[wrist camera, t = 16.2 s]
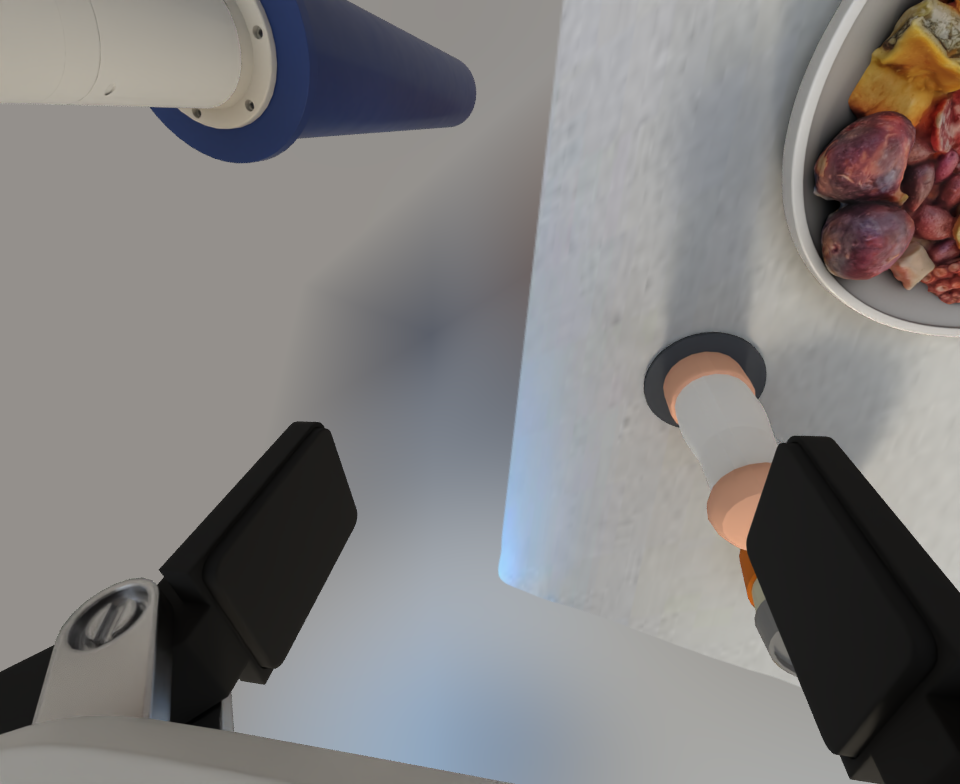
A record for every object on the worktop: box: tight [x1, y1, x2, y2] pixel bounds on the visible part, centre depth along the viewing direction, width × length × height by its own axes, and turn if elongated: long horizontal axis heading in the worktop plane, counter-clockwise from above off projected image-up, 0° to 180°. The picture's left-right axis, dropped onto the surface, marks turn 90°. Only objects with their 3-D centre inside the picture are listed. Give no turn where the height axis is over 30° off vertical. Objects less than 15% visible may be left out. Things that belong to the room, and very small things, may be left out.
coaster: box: [644, 332, 766, 428], centre depth 43 cm, size 11×11×1 cm
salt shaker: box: [663, 352, 778, 551], centre depth 35 cm, size 7×7×19 cm
